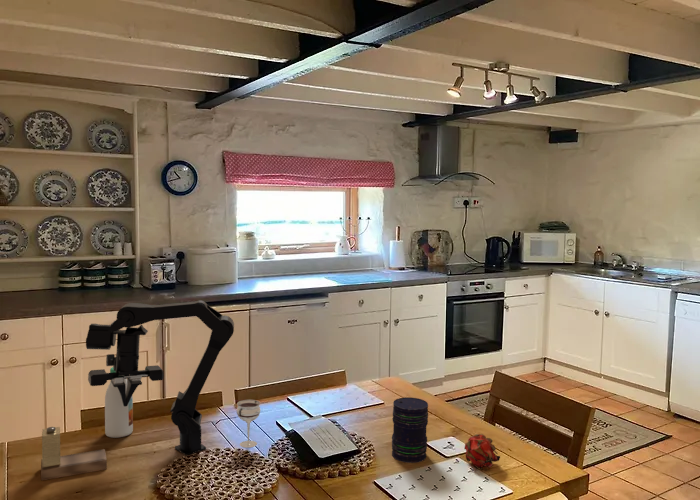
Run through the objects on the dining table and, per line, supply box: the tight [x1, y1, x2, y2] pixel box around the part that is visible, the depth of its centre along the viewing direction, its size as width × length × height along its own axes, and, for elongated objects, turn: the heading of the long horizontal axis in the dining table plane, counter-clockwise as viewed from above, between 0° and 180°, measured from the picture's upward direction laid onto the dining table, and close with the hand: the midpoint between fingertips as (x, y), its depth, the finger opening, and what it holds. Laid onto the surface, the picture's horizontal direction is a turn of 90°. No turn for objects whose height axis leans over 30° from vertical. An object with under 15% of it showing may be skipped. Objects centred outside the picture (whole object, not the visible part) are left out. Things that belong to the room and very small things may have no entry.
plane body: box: [40, 448, 108, 481], centre depth 149 cm, size 15×7×2 cm, turn 117°
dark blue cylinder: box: [391, 396, 429, 464], centre depth 161 cm, size 10×10×15 cm
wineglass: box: [236, 399, 261, 449], centre depth 166 cm, size 7×7×12 cm
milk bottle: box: [104, 366, 134, 439], centre depth 171 cm, size 8×8×20 cm
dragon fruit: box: [464, 433, 501, 471], centre depth 157 cm, size 8×8×12 cm
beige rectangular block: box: [41, 426, 61, 467], centre depth 146 cm, size 4×5×9 cm
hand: (125, 405), depth 158 cm, fingers closed
